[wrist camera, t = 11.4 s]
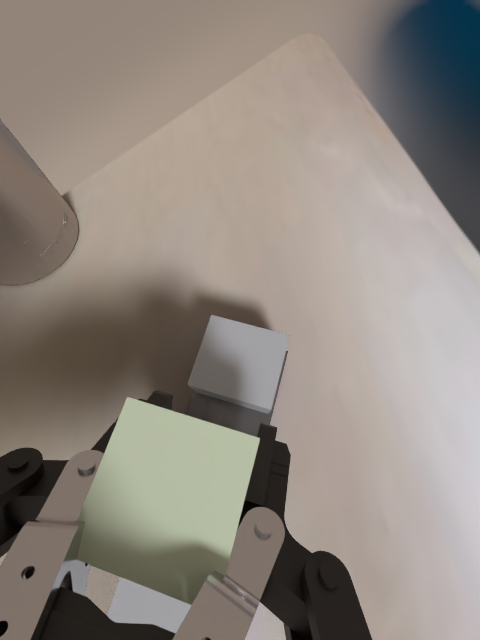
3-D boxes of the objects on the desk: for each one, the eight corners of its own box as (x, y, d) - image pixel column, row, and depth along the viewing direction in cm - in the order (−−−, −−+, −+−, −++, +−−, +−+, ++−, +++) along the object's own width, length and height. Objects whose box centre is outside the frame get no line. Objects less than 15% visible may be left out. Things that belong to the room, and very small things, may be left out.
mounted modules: (130, 592, 18) (103, 627, 15) (217, 331, 23) (211, 314, 20) (214, 625, 17) (205, 670, 14) (284, 350, 22) (289, 335, 19)
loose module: (166, 491, 17) (63, 554, 8) (190, 418, 19) (127, 396, 9) (236, 516, 17) (215, 614, 7) (256, 438, 18) (260, 438, 9)
